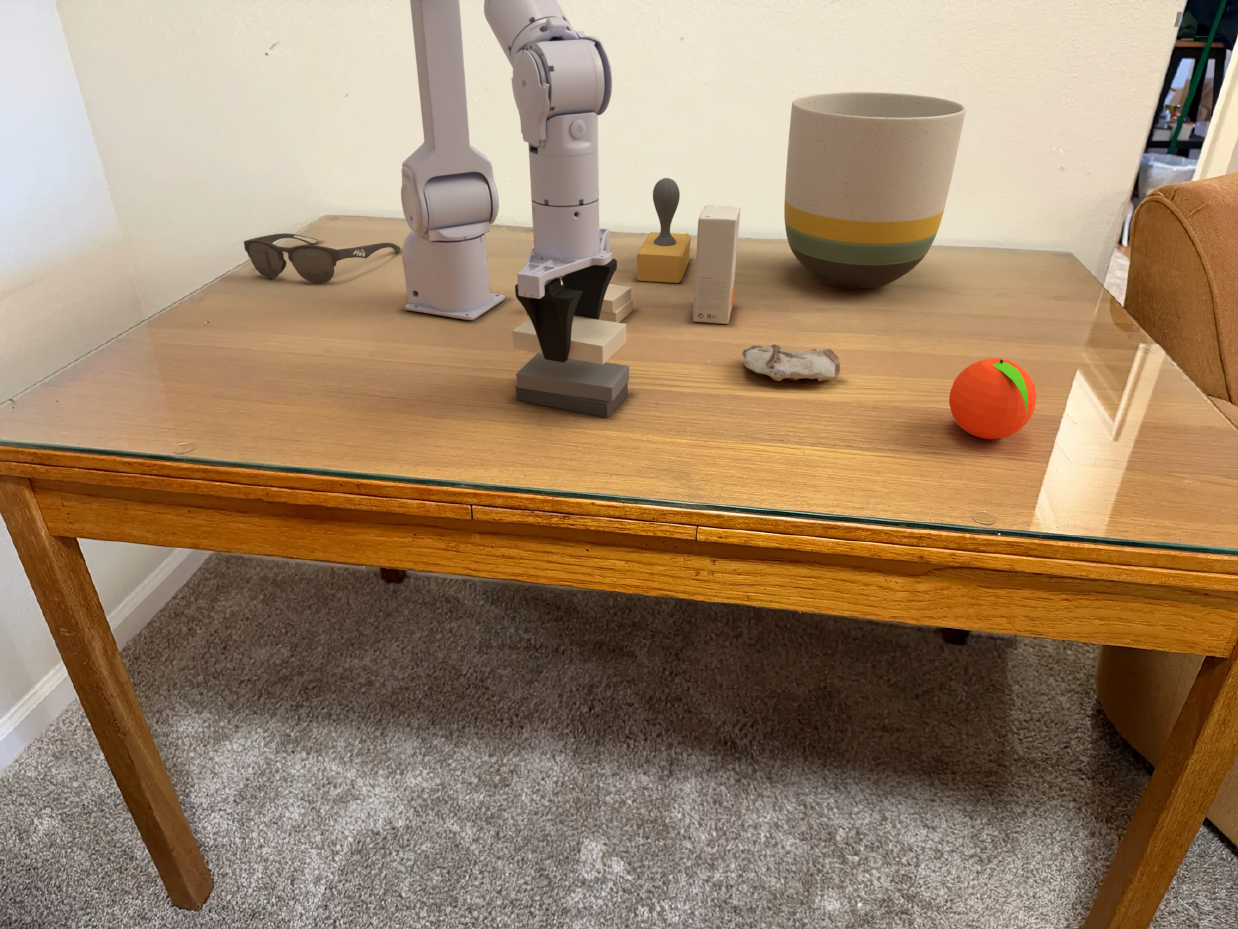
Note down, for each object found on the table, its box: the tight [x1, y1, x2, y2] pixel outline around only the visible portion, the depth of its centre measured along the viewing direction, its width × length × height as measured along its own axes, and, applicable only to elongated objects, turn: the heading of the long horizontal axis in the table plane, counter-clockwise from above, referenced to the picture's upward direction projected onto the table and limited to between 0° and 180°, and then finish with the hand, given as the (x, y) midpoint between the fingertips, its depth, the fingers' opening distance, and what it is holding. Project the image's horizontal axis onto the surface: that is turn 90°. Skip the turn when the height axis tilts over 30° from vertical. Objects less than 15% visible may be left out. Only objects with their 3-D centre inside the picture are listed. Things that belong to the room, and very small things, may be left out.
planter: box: [783, 91, 967, 290], centre depth 104 cm, size 20×20×21 cm
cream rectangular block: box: [511, 316, 627, 364], centre depth 78 cm, size 9×6×2 cm, turn 67°
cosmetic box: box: [692, 204, 741, 325], centre depth 97 cm, size 6×4×12 cm
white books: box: [560, 278, 634, 323], centre depth 100 cm, size 10×6×3 cm, turn 67°
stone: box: [741, 343, 841, 382], centre depth 85 cm, size 10×7×3 cm
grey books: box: [515, 353, 630, 418], centre depth 80 cm, size 10×6×3 cm, turn 67°
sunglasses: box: [243, 232, 401, 284], centre depth 115 cm, size 16×17×5 cm
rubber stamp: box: [636, 177, 692, 284], centre depth 110 cm, size 10×6×12 cm, turn 169°
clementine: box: [948, 357, 1038, 440], centre depth 72 cm, size 8×7×7 cm
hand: (570, 347), depth 78 cm, fingers closed on cream rectangular block, 5 cm apart
